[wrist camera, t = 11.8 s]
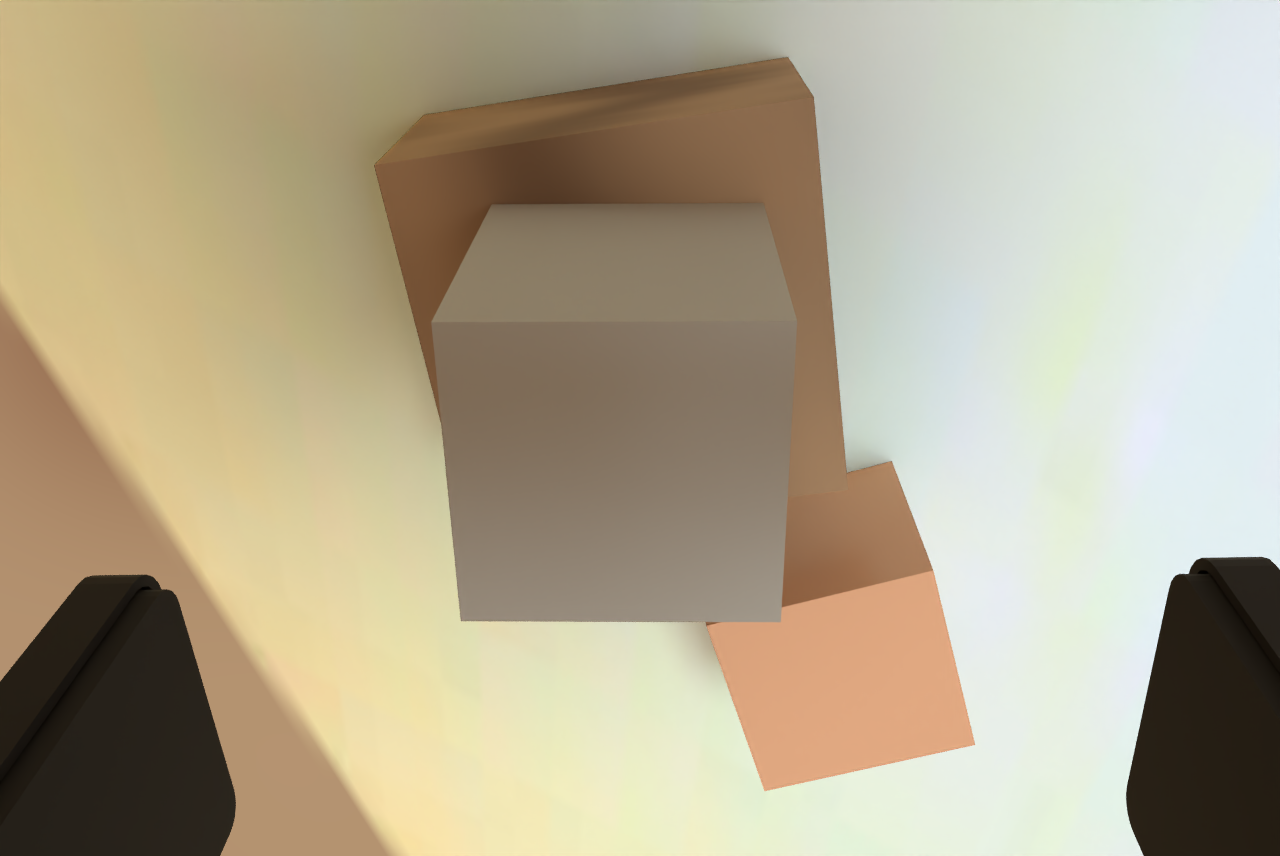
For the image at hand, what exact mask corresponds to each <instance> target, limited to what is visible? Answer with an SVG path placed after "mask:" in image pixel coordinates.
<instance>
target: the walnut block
mask: <svg viewBox="0 0 1280 856" xmlns="http://www.w3.org/2000/svg"><path fill="white" fill-rule="evenodd" d="M374 167H375V171H376V175H377V178H378V182H379V186H380V190H381V194H382V198H383V202H384V205H385V209H386V213H387V217H388V221H389V225H390V228H391V232H392V236H393V240H394V244H395V248H396V252H397V255H398V259H399V263H400V267H401V271H402V275H403V278H404V282H405V286H406V290H407V294H408V298H409V302H410V305H411V309H412V313H413V317H414V321H415V325H416V328H417V332H418V336H419V340H420V344H421V348H422V352H423V355H424V359H425V363H426V367H427V371H428V375H429V379H430V382H431V386H432V390H433V394H434V398H435V402H436V405H437V409H438V413H439V417H440V421H441V415H440V405H439V395H438V385H437V375H436V365H435V355H434V345H433V335H432V325H431V322H432V320H433V318H434V316H435V314H436V312H437V310H438V308H439V306H440V304H441V302H442V300H443V298H444V296H445V294H446V292H447V291H448V289H449V287H450V285H451V283H452V281H453V279H454V277H455V275H456V273H457V271H458V269H459V267H460V265H461V263H462V261H463V259H464V257H465V255H466V253H467V252H468V250H469V248H470V246H471V244H472V242H473V240H474V238H475V236H476V234H477V232H478V230H479V228H480V226H481V224H482V222H483V220H484V218H485V216H486V214H487V213H488V211H489V209H490V207H491V205H492V204H656V203H764V207H765V210H766V214H767V217H768V221H769V224H770V228H771V231H772V235H773V238H774V242H775V245H776V249H777V252H778V256H779V259H780V263H781V266H782V270H783V273H784V277H785V280H786V284H787V287H788V291H789V294H790V298H791V301H792V305H793V308H794V312H795V315H796V319H797V334H796V352H795V371H794V389H793V408H792V426H791V445H790V463H789V481H788V497H795V496H803V495H811V494H819V493H827V492H835V491H843V490H848V483H847V472H846V460H845V449H844V438H843V426H842V415H841V403H840V392H839V381H838V369H837V358H836V346H835V335H834V323H833V312H832V301H831V289H830V278H829V266H828V255H827V243H826V232H825V221H824V209H823V198H822V186H821V175H820V163H819V152H818V141H817V129H816V118H815V106H814V97H813V95H812V94H811V92H810V90H809V89H808V87H807V86H806V84H805V83H804V81H803V80H802V78H801V76H800V75H799V73H798V72H797V70H796V69H795V67H794V65H793V64H792V62H791V61H790V59H789V58H788V57H786V58H780V59H773V60H767V61H761V62H754V63H748V64H742V65H736V66H729V67H723V68H717V69H710V70H704V71H698V72H691V73H685V74H679V75H672V76H666V77H660V78H654V79H647V80H641V81H635V82H628V83H622V84H616V85H609V86H603V87H597V88H590V89H584V90H578V91H572V92H565V93H559V94H553V95H546V96H540V97H534V98H527V99H521V100H515V101H508V102H502V103H496V104H490V105H483V106H477V107H471V108H464V109H458V110H452V111H445V112H439V113H433V114H426V115H423V116H422V117H421V118H420V119H419V120H418V121H417V122H416V123H415V125H414V126H413V127H412V128H411V129H410V130H409V131H408V132H407V133H406V134H405V135H404V136H403V137H402V138H401V139H400V140H399V141H398V142H397V143H396V144H395V145H394V146H393V147H392V148H391V149H390V150H389V151H388V152H387V153H386V154H385V155H384V156H383V157H382V158H381V159H380V160H379V161H378V162H377V163H376V164H375V165H374Z"/></svg>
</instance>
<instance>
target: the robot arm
mask: <svg viewBox="0 0 1280 856" xmlns="http://www.w3.org/2000/svg"><path fill="white" fill-rule="evenodd" d="M235 801H236V800H235V792H234V789H233V785H232V781H231V778H230V774H229V771H228V768H227V764H226V761H225V757H224V754H223V751H222V747H221V744H220V741H219V737H218V734H217V730H216V727H215V723H214V720H213V717H212V713H211V710H210V707H209V703H208V700H207V696H206V693H205V689H204V686H203V683H202V679H201V676H200V672H199V669H198V666H197V662H196V659H195V656H194V652H193V649H192V645H191V642H190V638H189V635H188V632H187V628H186V625H185V621H184V619H183V615H182V611H181V608H180V605H179V602H178V599H177V597H176V595H175V594H174V593H173V592H172V591H170V590H161V588H160V585H159V583H158V582H157V581H156V580H155V579H154V578H153V577H151V576H148V575H104V576H103V575H102V576H101V575H99V576H90V577H86V578H84V579H83V580H82V581H81V582H80V583H79V584H78V585H77V586H76V587H75V589H74V590H73V591H72V592H71V594H70V595H69V596H68V597H67V599H66V600H65V601H64V602H63V604H62V605H61V606H60V608H59V609H58V610H57V611H56V612H55V614H54V615H53V616H52V617H51V619H50V620H49V621H48V622H47V624H46V625H45V626H44V627H43V629H42V630H41V632H40V633H39V634H38V635H37V636H36V637H35V639H34V640H33V641H32V642H31V644H30V645H29V646H28V648H27V649H26V650H25V651H24V653H23V654H22V655H21V656H20V658H19V659H18V660H17V661H16V663H15V664H14V665H13V666H12V668H11V669H10V670H9V672H8V673H7V674H6V675H5V676H4V678H3V679H2V680H1V681H0V856H220V855H221V852H222V850H223V848H224V846H225V843H226V841H227V839H228V837H229V835H230V832H231V829H232V826H233V822H234V818H235V808H236V802H235ZM1126 803H1127V811H1128V816H1129V821H1130V824H1131V827H1132V830H1133V832H1134V835H1135V837H1136V839H1137V841H1138V844H1139V846H1140V848H1141V851H1142V853H1143V855H1144V856H1280V570H1279V568H1278V567H1277V566H1276V565H1275V564H1274V563H1273V562H1272V561H1271V560H1270V559H1267V558H1264V557H1231V558H1201V559H1198V560H1196V561H1195V562H1194V564H1193V565H1192V567H1191V569H1190V572H1189V574H1179V575H1176V576H1175V577H1174V578H1173V580H1172V581H1171V585H1170V588H1169V592H1168V597H1167V601H1166V606H1165V611H1164V615H1163V620H1162V625H1161V629H1160V634H1159V639H1158V643H1157V648H1156V653H1155V657H1154V662H1153V667H1152V672H1151V676H1150V681H1149V686H1148V690H1147V695H1146V700H1145V704H1144V709H1143V714H1142V718H1141V723H1140V728H1139V732H1138V737H1137V742H1136V747H1135V751H1134V756H1133V761H1132V765H1131V770H1130V775H1129V779H1128V784H1127V792H1126Z"/></svg>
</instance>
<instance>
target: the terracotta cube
mask: <svg viewBox="0 0 1280 856" xmlns="http://www.w3.org/2000/svg"><path fill="white" fill-rule="evenodd" d="M847 483H848V490H843V491H835V492H827V493H819V494H811V495H803V496H795V497H788V500H787V518H786V537H785V555H784V574H783V592H782V610H781V622H706V626H707V629H708V632H709V635H710V638H711V640H712V643H713V646H714V649H715V652H716V655H717V657H718V660H719V663H720V666H721V669H722V672H723V674H724V677H725V680H726V683H727V686H728V689H729V691H730V694H731V697H732V700H733V703H734V706H735V708H736V711H737V714H738V717H739V720H740V723H741V725H742V728H743V731H744V734H745V737H746V740H747V742H748V745H749V748H750V751H751V754H752V757H753V759H754V762H755V765H756V768H757V771H758V774H759V776H760V779H761V782H762V785H763V788H764V790H765V791H767V790H772V789H776V788H781V787H785V786H790V785H794V784H799V783H804V782H808V781H813V780H817V779H822V778H826V777H831V776H835V775H840V774H845V773H849V772H854V771H858V770H863V769H867V768H872V767H876V766H881V765H885V764H890V763H895V762H899V761H904V760H908V759H913V758H917V757H922V756H926V755H931V754H935V753H940V752H945V751H949V750H954V749H958V748H963V747H967V746H972V745H975V743H974V738H973V734H972V730H971V726H970V722H969V718H968V713H967V709H966V705H965V701H964V697H963V693H962V688H961V684H960V680H959V676H958V672H957V667H956V663H955V659H954V655H953V651H952V647H951V642H950V638H949V634H948V630H947V626H946V622H945V617H944V613H943V609H942V605H941V601H940V597H939V592H938V588H937V584H936V580H935V576H934V572H933V569H932V566H931V563H930V561H929V558H928V555H927V553H926V550H925V548H924V545H923V542H922V540H921V537H920V534H919V532H918V529H917V526H916V524H915V521H914V519H913V516H912V513H911V511H910V508H909V505H908V503H907V500H906V498H905V495H904V492H903V490H902V487H901V484H900V482H899V479H898V477H897V474H896V471H895V469H894V466H893V463H892V461H891V462H887V463H883V464H879V465H875V466H872V467H868V468H864V469H860V470H856V471H852V472H849V473H847Z"/></svg>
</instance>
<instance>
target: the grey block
mask: <svg viewBox="0 0 1280 856" xmlns="http://www.w3.org/2000/svg"><path fill="white" fill-rule="evenodd" d="M431 325H432V335H433V345H434V355H435V365H436V375H437V385H438V395H439V405H440V415H441V425H442V435H443V446H444V456H445V466H446V476H447V486H448V496H449V506H450V516H451V526H452V536H453V546H454V556H455V566H456V577H457V587H458V597H459V607H460V617H461V621H574V622H781V610H782V592H783V574H784V555H785V537H786V518H787V500H788V481H789V463H790V445H791V426H792V408H793V389H794V371H795V352H796V334H797V319H796V315H795V312H794V308H793V305H792V301H791V298H790V294H789V291H788V287H787V284H786V280H785V277H784V273H783V270H782V266H781V263H780V259H779V256H778V252H777V249H776V245H775V242H774V238H773V235H772V231H771V228H770V224H769V221H768V217H767V214H766V210H765V207H764V203H656V204H492V205H491V207H490V209H489V211H488V213H487V214H486V216H485V218H484V220H483V222H482V224H481V226H480V228H479V230H478V232H477V234H476V236H475V238H474V240H473V242H472V244H471V246H470V248H469V250H468V252H467V253H466V255H465V257H464V259H463V261H462V263H461V265H460V267H459V269H458V271H457V273H456V275H455V277H454V279H453V281H452V283H451V285H450V287H449V289H448V291H447V292H446V294H445V296H444V298H443V300H442V302H441V304H440V306H439V308H438V310H437V312H436V314H435V316H434V318H433V320H432V322H431Z"/></svg>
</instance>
